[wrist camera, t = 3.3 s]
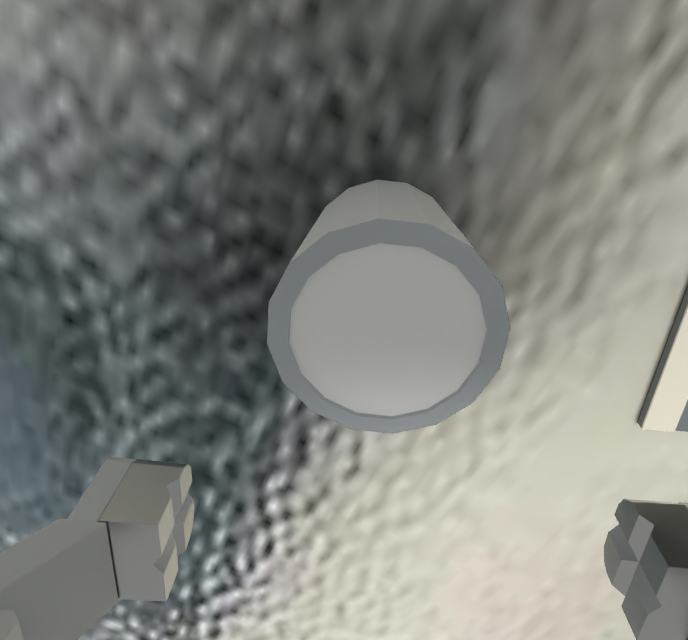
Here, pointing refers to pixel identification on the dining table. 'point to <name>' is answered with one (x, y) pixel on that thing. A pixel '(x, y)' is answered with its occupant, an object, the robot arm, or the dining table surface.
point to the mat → (670, 381)
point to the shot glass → (387, 313)
